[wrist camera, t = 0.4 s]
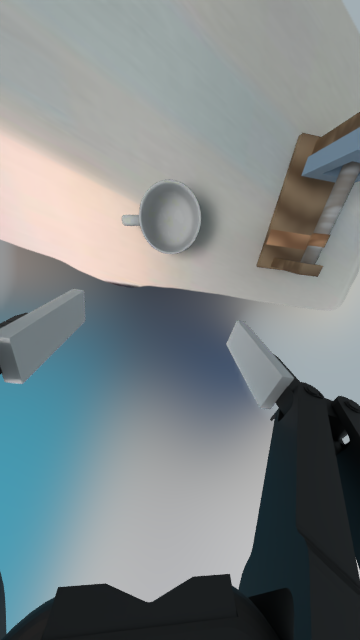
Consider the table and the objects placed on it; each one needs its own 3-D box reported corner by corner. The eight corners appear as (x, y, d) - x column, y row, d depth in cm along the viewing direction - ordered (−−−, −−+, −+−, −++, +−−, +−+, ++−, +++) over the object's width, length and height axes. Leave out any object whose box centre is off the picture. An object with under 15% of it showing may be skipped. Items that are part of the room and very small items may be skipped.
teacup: (200, 199, 33) (209, 188, 26) (189, 255, 38) (193, 259, 30) (130, 181, 31) (119, 164, 24) (128, 242, 36) (118, 244, 29)
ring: (308, 156, 27) (370, 120, 19) (355, 167, 28) (435, 136, 20) (301, 175, 28) (357, 149, 20) (346, 184, 29) (419, 163, 21)
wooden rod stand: (298, 136, 29) (359, 88, 20) (346, 146, 30) (425, 106, 21) (256, 266, 40) (283, 275, 30) (293, 270, 41) (330, 280, 31)
